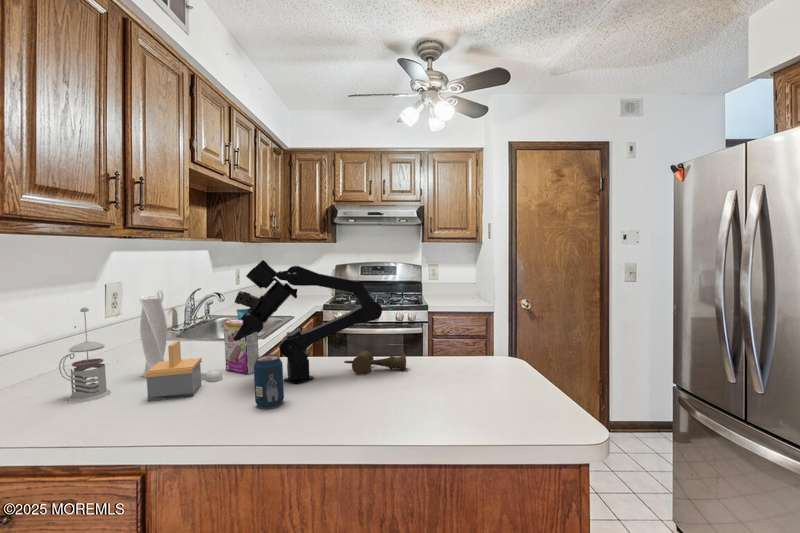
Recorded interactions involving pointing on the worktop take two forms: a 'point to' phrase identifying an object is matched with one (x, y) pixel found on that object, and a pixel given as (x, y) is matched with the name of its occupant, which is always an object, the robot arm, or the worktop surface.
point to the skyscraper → (153, 330)
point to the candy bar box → (239, 349)
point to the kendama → (375, 362)
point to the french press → (87, 372)
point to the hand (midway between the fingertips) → (234, 339)
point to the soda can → (268, 381)
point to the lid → (173, 363)
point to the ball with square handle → (212, 375)
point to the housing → (174, 385)
